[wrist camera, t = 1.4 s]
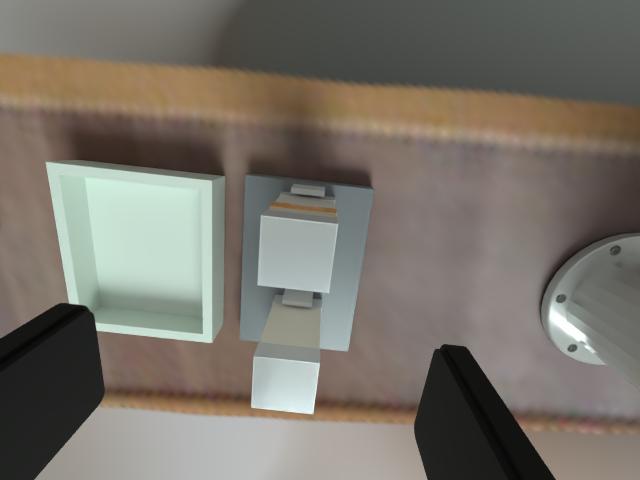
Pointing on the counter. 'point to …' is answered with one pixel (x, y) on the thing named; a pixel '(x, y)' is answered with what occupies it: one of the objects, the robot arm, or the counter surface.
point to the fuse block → (346, 263)
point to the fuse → (288, 358)
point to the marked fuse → (298, 242)
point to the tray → (142, 247)
